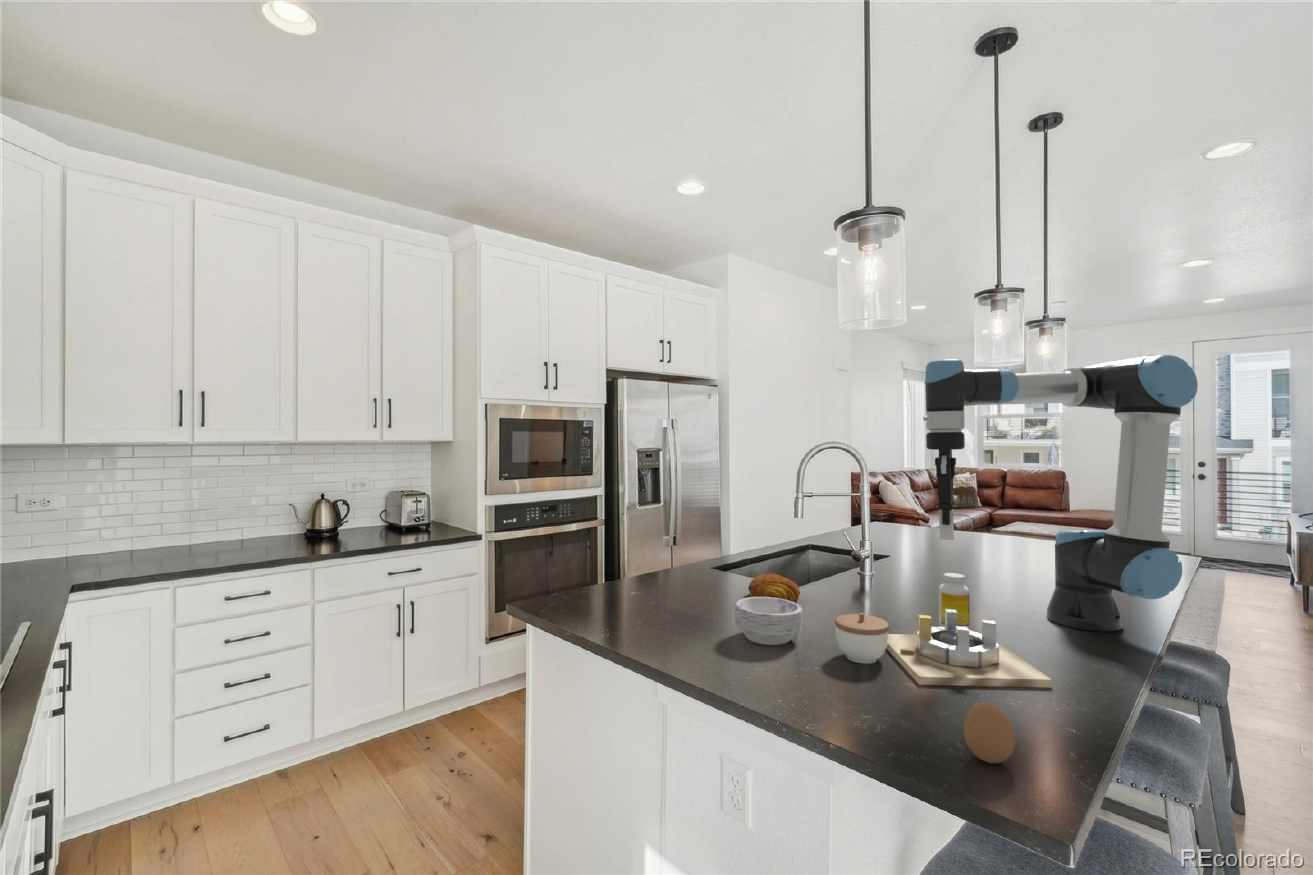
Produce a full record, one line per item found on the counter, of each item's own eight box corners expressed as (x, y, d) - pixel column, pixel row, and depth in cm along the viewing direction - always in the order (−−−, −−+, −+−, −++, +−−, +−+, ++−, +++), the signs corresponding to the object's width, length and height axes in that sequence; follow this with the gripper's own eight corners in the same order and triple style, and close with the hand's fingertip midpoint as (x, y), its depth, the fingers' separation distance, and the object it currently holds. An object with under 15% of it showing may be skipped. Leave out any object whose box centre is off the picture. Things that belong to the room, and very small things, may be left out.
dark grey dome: (965, 649, 126) (965, 632, 126) (979, 660, 120) (980, 643, 120) (934, 648, 127) (934, 632, 127) (947, 660, 120) (947, 642, 120)
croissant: (748, 613, 164) (747, 585, 163) (749, 590, 180) (748, 565, 178) (801, 614, 162) (801, 586, 161) (798, 591, 177) (798, 565, 176)
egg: (1009, 779, 81) (1009, 719, 81) (958, 761, 86) (958, 704, 86) (1019, 759, 86) (1019, 703, 86) (970, 744, 90) (970, 690, 90)
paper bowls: (814, 638, 138) (814, 603, 138) (779, 656, 126) (779, 618, 126) (758, 623, 148) (758, 592, 148) (721, 639, 137) (721, 604, 137)
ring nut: (914, 637, 132) (914, 606, 132) (987, 644, 128) (987, 612, 128) (923, 662, 118) (923, 626, 118) (1005, 670, 114) (1005, 633, 114)
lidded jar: (862, 672, 118) (862, 624, 118) (824, 654, 128) (824, 610, 127) (900, 662, 123) (900, 617, 123) (860, 645, 132) (860, 603, 132)
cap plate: (987, 642, 134) (987, 632, 134) (1051, 687, 111) (1051, 675, 110) (878, 640, 136) (878, 630, 136) (919, 684, 112) (919, 672, 112)
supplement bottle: (973, 633, 141) (973, 579, 141) (943, 631, 142) (943, 577, 142) (964, 624, 147) (964, 572, 147) (935, 622, 149) (935, 571, 148)
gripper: (929, 431, 138) (930, 533, 138) (923, 431, 126) (924, 543, 126) (965, 430, 134) (967, 535, 134) (962, 431, 122) (964, 545, 123)
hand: (946, 539), depth 130 cm, fingers closed
